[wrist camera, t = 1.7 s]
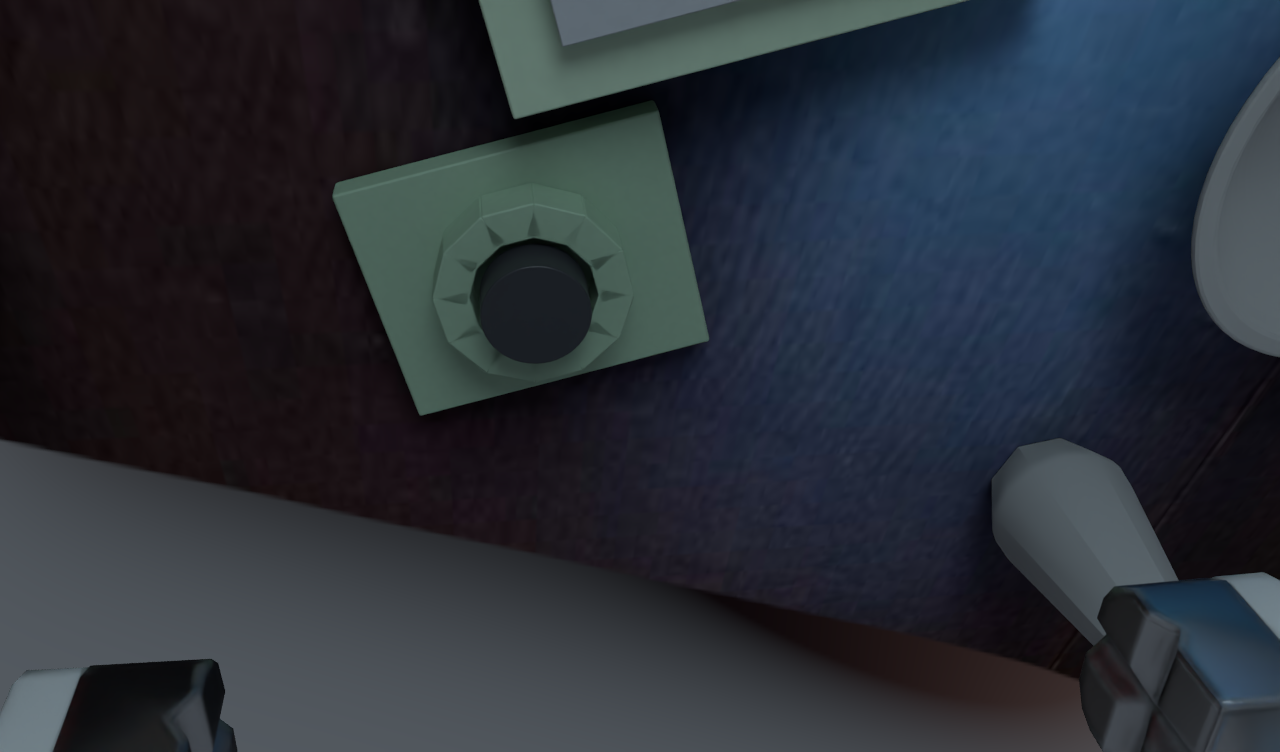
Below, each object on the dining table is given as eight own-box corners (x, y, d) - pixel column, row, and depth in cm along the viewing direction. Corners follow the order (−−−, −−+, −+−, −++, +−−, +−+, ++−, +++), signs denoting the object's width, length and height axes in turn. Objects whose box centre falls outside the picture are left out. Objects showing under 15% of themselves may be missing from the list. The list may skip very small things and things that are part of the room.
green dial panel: (653, 98, 38) (667, 129, 36) (704, 325, 43) (719, 366, 40) (334, 182, 38) (325, 218, 36) (420, 399, 43) (417, 445, 41)
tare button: (572, 230, 37) (576, 253, 36) (598, 323, 39) (603, 348, 38) (465, 258, 38) (465, 282, 36) (497, 349, 39) (498, 376, 38)
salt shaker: (1064, 540, 51) (1228, 777, 40) (950, 521, 50) (1088, 763, 39) (1127, 433, 48) (1321, 657, 37) (1008, 410, 47) (1174, 636, 36)
